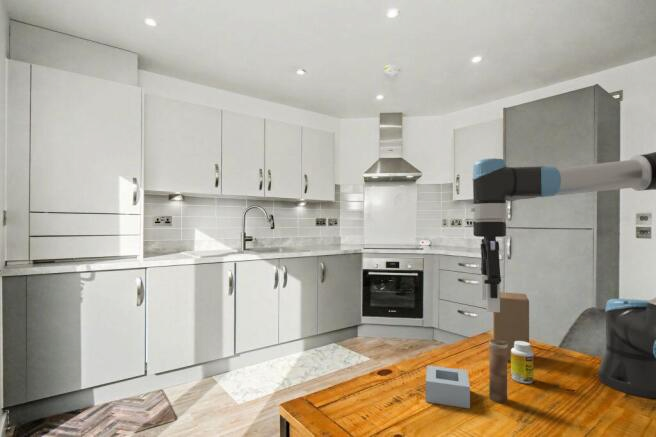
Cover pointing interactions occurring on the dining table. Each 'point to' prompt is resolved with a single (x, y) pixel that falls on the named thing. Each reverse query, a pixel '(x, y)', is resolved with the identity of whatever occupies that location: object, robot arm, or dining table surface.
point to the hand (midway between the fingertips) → (490, 305)
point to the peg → (498, 371)
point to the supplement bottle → (522, 362)
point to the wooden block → (511, 320)
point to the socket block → (447, 386)
